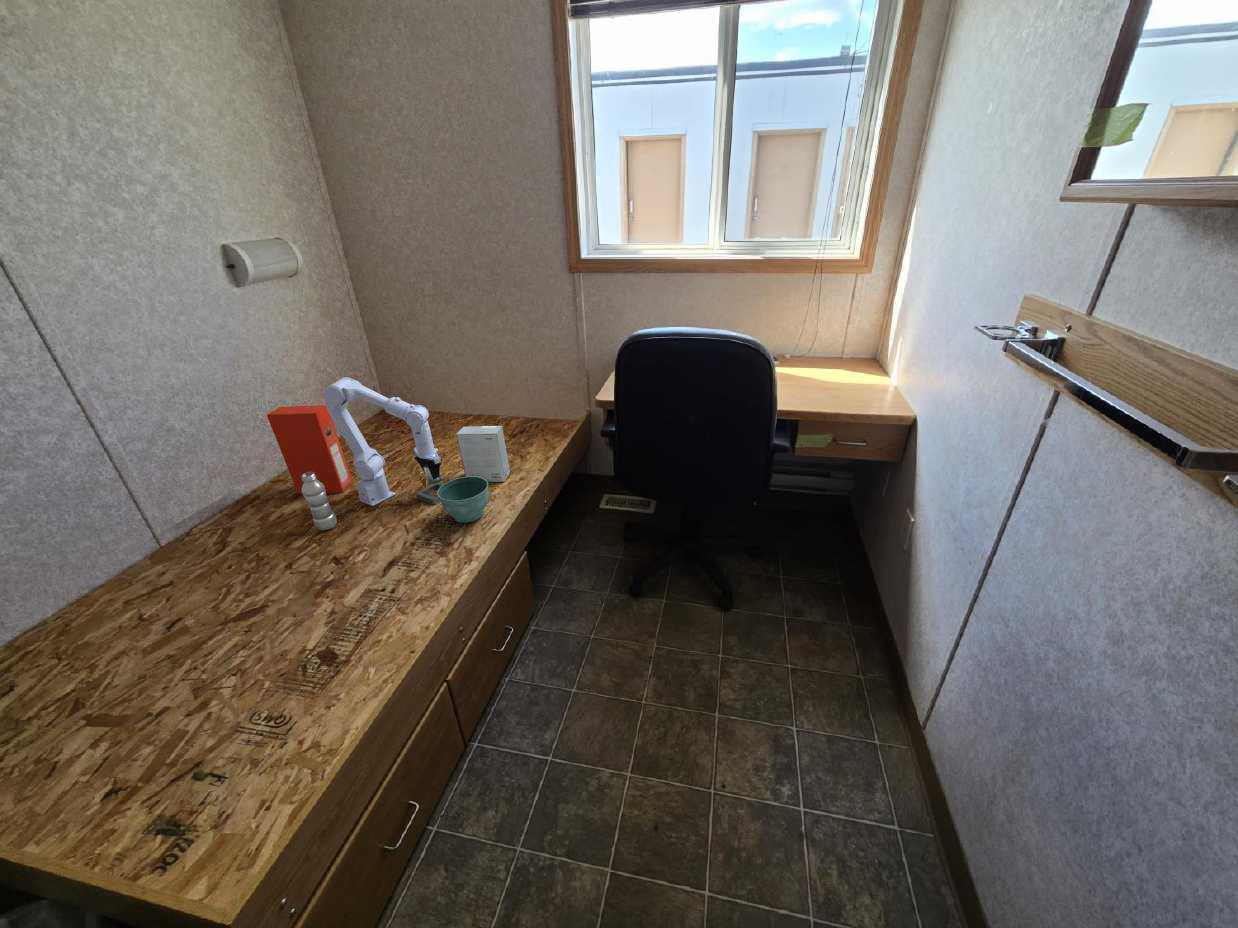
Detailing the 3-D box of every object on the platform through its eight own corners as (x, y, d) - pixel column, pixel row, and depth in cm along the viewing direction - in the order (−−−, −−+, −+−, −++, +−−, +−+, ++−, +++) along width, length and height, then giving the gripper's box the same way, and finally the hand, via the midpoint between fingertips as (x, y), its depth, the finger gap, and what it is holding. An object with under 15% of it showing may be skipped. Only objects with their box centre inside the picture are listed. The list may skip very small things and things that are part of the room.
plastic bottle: (329, 533, 163) (309, 480, 154) (311, 532, 164) (290, 478, 155) (343, 522, 168) (324, 470, 159) (325, 521, 170) (306, 469, 161)
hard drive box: (510, 472, 195) (503, 425, 186) (505, 482, 189) (496, 434, 180) (472, 472, 197) (463, 425, 188) (465, 481, 190) (455, 434, 181)
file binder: (342, 493, 187) (315, 413, 172) (297, 494, 187) (266, 414, 173) (353, 482, 194) (327, 404, 179) (309, 483, 195) (280, 406, 180)
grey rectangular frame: (434, 505, 176) (433, 500, 175) (416, 498, 181) (415, 493, 180) (456, 492, 183) (455, 487, 183) (438, 485, 188) (437, 481, 187)
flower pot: (433, 522, 166) (426, 494, 161) (467, 499, 179) (461, 472, 174) (470, 533, 159) (463, 504, 154) (503, 509, 172) (498, 481, 167)
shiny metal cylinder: (432, 485, 177) (429, 470, 174) (424, 481, 179) (420, 466, 177) (444, 479, 180) (441, 464, 178) (436, 476, 183) (432, 461, 180)
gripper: (445, 442, 171) (453, 477, 177) (423, 432, 179) (431, 465, 186) (426, 449, 166) (435, 485, 172) (405, 439, 175) (414, 473, 181)
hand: (432, 475), depth 179 cm, fingers closed on shiny metal cylinder, 5 cm apart
